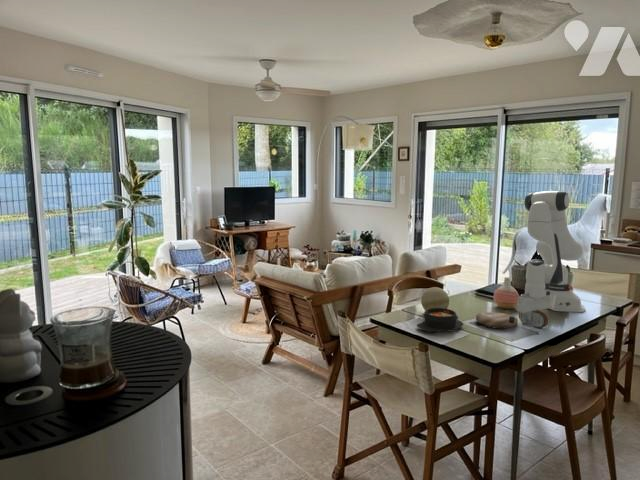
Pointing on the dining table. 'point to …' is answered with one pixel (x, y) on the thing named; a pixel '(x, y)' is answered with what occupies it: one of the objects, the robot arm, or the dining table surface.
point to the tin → (534, 319)
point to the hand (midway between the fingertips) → (532, 318)
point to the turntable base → (498, 327)
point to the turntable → (496, 319)
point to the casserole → (440, 320)
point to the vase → (506, 295)
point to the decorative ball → (435, 298)
